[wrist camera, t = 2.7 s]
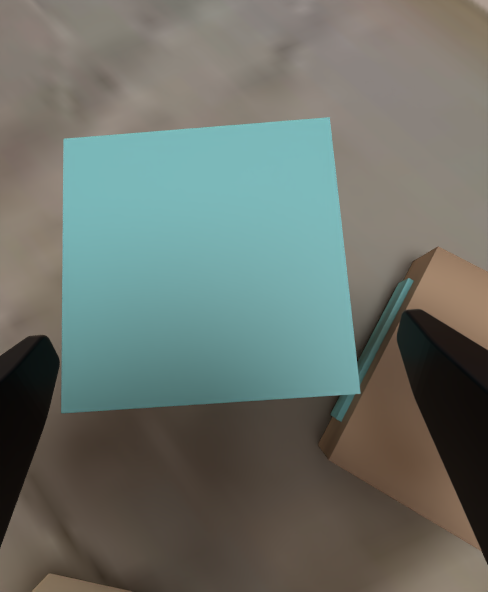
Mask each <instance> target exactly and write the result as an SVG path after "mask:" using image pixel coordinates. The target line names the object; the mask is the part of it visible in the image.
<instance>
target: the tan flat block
mask: <svg viewBox="0 0 488 592" xmlns="http://www.w3.org/2000/svg"><path fill="white" fill-rule="evenodd" d="M409 309H422V310H424V311H425V312H427V313H429V314H430V315H432V316H433V317H435V318H437V319H438V320H440V321H442V322H443V323H445V324H446V325H448V326H450V327H451V328H453V329H455V330H456V331H458V332H459V333H461V334H463V335H464V336H466V337H468V338H469V339H471V340H472V341H474V342H476V343H477V344H479V345H481V346H482V347H484V348H485V349H487V350H488V272H487V271H485V270H483V269H481V268H479V267H477V266H475V265H473V264H471V263H469V262H467V261H465V260H463V259H462V258H460V257H458V256H456V255H454V254H452V253H450V252H448V251H446V250H444V249H442V248H440V247H436V248H435V249H433V250H431V251H430V252H428V253H426V254H425V255H423V256H421V257H420V258H418V259H416V260H415V261H413V263H412V265H411V267H410V269H409V271H408V272H407V274H406V276H405V278H404V280H403V281H402V282H400V283H398V285H397V287H396V289H395V291H394V293H393V295H392V297H391V299H390V301H389V303H388V304H387V306H386V308H385V310H384V312H383V314H382V316H381V318H380V320H379V322H378V324H377V326H376V328H375V329H374V331H373V333H372V335H371V337H370V339H369V341H368V343H367V345H366V347H365V349H364V351H363V353H362V355H361V356H360V358H359V360H358V362H357V366H358V375H359V384H360V392H361V394H350V395H340V397H339V399H338V401H337V403H336V405H335V406H334V408H333V410H332V412H331V414H330V415H332V416H333V417H332V419H331V421H330V423H329V424H328V426H327V428H326V430H325V432H324V434H323V436H322V438H321V440H320V442H319V444H318V446H319V447H320V448H321V450H322V451H323V453H324V454H325V456H326V457H327V458H328V460H329V461H331V462H333V463H334V464H336V465H338V466H339V467H341V468H343V469H344V470H346V471H348V472H349V473H351V474H353V475H354V476H356V477H358V478H360V479H361V480H363V481H365V482H366V483H368V484H370V485H371V486H373V487H375V488H376V489H378V490H380V491H381V492H383V493H385V494H386V495H388V496H390V497H391V498H393V499H395V500H396V501H398V502H400V503H402V504H403V505H405V506H407V507H408V508H410V509H412V510H413V511H415V512H417V513H418V514H420V515H422V516H423V517H425V518H427V519H428V520H430V521H432V522H433V523H435V524H437V525H438V526H440V527H442V528H443V529H445V530H447V531H449V532H450V533H452V534H454V535H455V536H457V537H459V538H460V539H462V540H464V541H465V542H467V543H469V544H470V545H472V546H474V547H475V548H477V549H479V550H480V551H481V548H480V546H479V544H478V542H477V539H476V537H475V535H474V532H473V530H472V528H471V526H470V523H469V521H468V519H467V517H466V514H465V512H464V510H463V507H462V505H461V503H460V501H459V498H458V496H457V494H456V492H455V489H454V487H453V485H452V483H451V480H450V478H449V476H448V473H447V471H446V469H445V467H444V464H443V462H442V460H441V458H440V455H439V453H438V451H437V448H436V446H435V444H434V442H433V439H432V437H431V435H430V433H429V430H428V428H427V426H426V423H425V421H424V419H423V417H422V414H421V412H420V410H419V408H418V405H417V403H416V400H415V398H414V395H413V392H412V389H411V386H410V383H409V380H408V376H407V373H406V370H405V367H404V363H403V360H402V357H401V353H400V350H399V347H398V343H397V331H398V327H399V323H400V319H401V315H402V312H403V311H404V310H409Z"/></svg>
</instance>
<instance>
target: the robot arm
mask: <svg viewBox="0 0 488 592" xmlns="http://www.w3.org/2000/svg"><path fill="white" fill-rule="evenodd" d="M397 343H398V347H399V350H400V353H401V357H402V360H403V363H404V367H405V370H406V373H407V376H408V380H409V383H410V386H411V389H412V392H413V395H414V398H415V400H416V403H417V405H418V408H419V410H420V412H421V414H422V417H423V419H424V421H425V423H426V426H427V428H428V430H429V433H430V435H431V437H432V439H433V442H434V444H435V446H436V448H437V451H438V453H439V455H440V458H441V460H442V462H443V464H444V467H445V469H446V471H447V473H448V476H449V478H450V480H451V483H452V485H453V487H454V489H455V492H456V494H457V496H458V498H459V501H460V503H461V505H462V507H463V510H464V512H465V514H466V517H467V519H468V521H469V523H470V526H471V528H472V530H473V532H474V535H475V537H476V539H477V542H478V544H479V546H480V548H481V551H482V553H483V555H484V557H485V560H486V562H487V564H488V350H487V349H485V348H484V347H482V346H481V345H479V344H477V343H476V342H474V341H472V340H471V339H469V338H468V337H466V336H464V335H463V334H461V333H459V332H458V331H456V330H455V329H453V328H451V327H450V326H448V325H446V324H445V323H443V322H442V321H440V320H438V319H437V318H435V317H433V316H432V315H430V314H429V313H427V312H425V311H424V310H422V309H409V310H404V311H403V312H402V315H401V319H400V323H399V327H398V331H397ZM59 365H60V361H59V357H58V355H57V353H56V351H55V349H54V347H53V345H52V343H51V341H50V339H49V338H48V337H47V336H45V335H35V336H29V337H27V338H25V339H24V340H22V341H21V342H19V343H18V344H17V345H15V346H14V347H12V348H11V349H9V350H8V351H7V352H5V353H4V354H2V355H1V356H0V547H1V544H2V541H3V539H4V536H5V533H6V530H7V528H8V525H9V522H10V519H11V517H12V514H13V511H14V508H15V506H16V503H17V500H18V497H19V495H20V492H21V489H22V486H23V483H24V481H25V478H26V475H27V472H28V470H29V467H30V464H31V461H32V459H33V456H34V453H35V450H36V448H37V445H38V442H39V439H40V437H41V434H42V431H43V428H44V425H45V422H46V419H47V415H48V412H49V408H50V404H51V399H52V395H53V391H54V387H55V383H56V379H57V374H58V370H59Z"/></svg>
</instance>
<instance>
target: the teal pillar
mask: <svg viewBox="0 0 488 592" xmlns="http://www.w3.org/2000/svg"><path fill="white" fill-rule="evenodd" d="M350 394H361V392H360V384H359V375H358V366H357V357H356V348H355V339H354V330H353V321H352V312H351V304H350V295H349V286H348V277H347V268H346V259H345V250H344V241H343V232H342V223H341V215H340V206H339V197H338V188H337V179H336V170H335V161H334V152H333V143H332V135H331V126H330V117H329V118H316V119H304V120H292V121H279V122H267V123H254V124H242V125H230V126H217V127H205V128H192V129H180V130H168V131H155V132H143V133H130V134H118V135H106V136H93V137H81V138H68V139H64V159H63V275H62V390H61V413H75V412H90V411H105V410H120V409H136V408H151V407H166V406H182V405H197V404H212V403H228V402H243V401H258V400H273V399H289V398H304V397H319V396H335V395H350Z"/></svg>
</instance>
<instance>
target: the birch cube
mask: <svg viewBox="0 0 488 592" xmlns="http://www.w3.org/2000/svg"><path fill="white" fill-rule="evenodd" d="M32 592H132V591H128V590H123V589H119V588H114V587H110V586H105V585H100V584H96V583H91V582H87V581H82V580H78V579H73V578H69V577H64V576H60V575H55V574H50V573H49V574H48V575H47V576H46V577H45V578H44V579H43V580H42V581H41V582H40V583H39V584H38V585H37V586H36V587H35V588H34V590H33V591H32Z"/></svg>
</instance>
